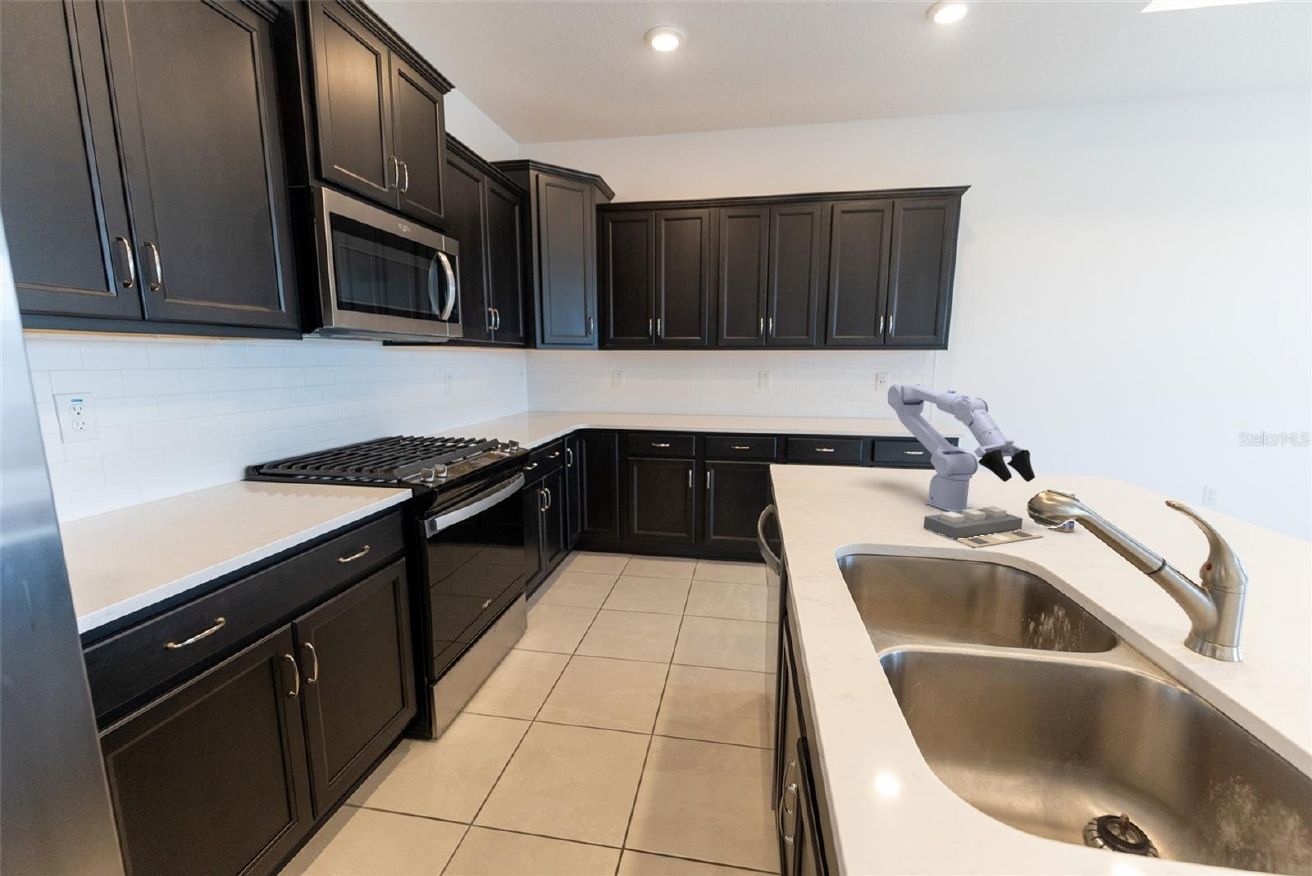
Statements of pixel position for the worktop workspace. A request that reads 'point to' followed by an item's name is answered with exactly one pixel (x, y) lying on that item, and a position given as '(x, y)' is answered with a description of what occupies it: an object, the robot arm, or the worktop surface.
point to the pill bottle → (1070, 524)
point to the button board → (973, 526)
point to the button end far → (994, 512)
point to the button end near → (952, 517)
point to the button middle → (974, 514)
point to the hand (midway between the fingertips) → (1019, 479)
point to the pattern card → (998, 538)
